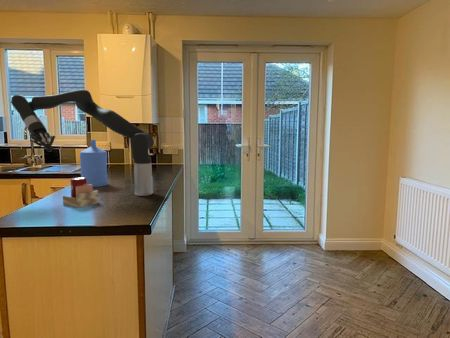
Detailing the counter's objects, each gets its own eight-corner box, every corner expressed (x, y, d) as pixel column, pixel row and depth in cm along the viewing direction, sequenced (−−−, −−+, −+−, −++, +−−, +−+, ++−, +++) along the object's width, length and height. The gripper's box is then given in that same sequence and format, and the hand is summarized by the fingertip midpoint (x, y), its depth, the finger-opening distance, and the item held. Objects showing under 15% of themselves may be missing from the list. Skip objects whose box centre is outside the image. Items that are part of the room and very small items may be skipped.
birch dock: (83, 200, 163) (82, 188, 163) (98, 202, 158) (98, 190, 157) (63, 204, 154) (62, 191, 153) (78, 207, 148) (78, 194, 148)
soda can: (91, 202, 159) (90, 177, 158) (81, 205, 152) (80, 180, 151) (78, 201, 161) (77, 176, 160) (67, 204, 154) (66, 179, 153)
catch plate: (91, 201, 158) (91, 184, 157) (93, 202, 158) (92, 184, 157) (76, 205, 151) (75, 186, 150) (77, 205, 151) (77, 187, 150)
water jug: (99, 188, 195) (97, 140, 191) (75, 186, 198) (73, 140, 194) (113, 183, 210) (111, 139, 206) (90, 182, 213) (89, 139, 209)
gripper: (44, 131, 178) (59, 154, 174) (19, 131, 167) (35, 156, 162) (50, 121, 175) (65, 145, 170) (24, 120, 163) (41, 146, 159)
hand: (50, 150), depth 166 cm, fingers closed
